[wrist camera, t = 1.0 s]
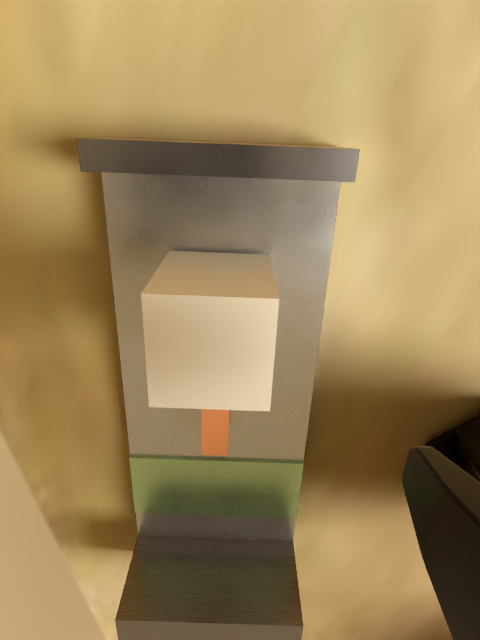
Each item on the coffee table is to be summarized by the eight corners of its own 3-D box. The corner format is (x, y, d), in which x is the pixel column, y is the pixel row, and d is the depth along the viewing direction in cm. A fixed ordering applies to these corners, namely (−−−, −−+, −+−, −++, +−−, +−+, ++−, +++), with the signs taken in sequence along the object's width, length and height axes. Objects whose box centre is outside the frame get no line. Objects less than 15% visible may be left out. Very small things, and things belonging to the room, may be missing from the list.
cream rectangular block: (169, 250, 16) (141, 293, 12) (269, 254, 16) (279, 298, 12) (176, 430, 20) (156, 514, 15) (257, 433, 20) (261, 517, 15)
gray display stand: (106, 137, 15) (40, 138, 10) (339, 146, 15) (384, 151, 10) (145, 553, 25) (120, 655, 20) (286, 558, 25) (297, 661, 20)
